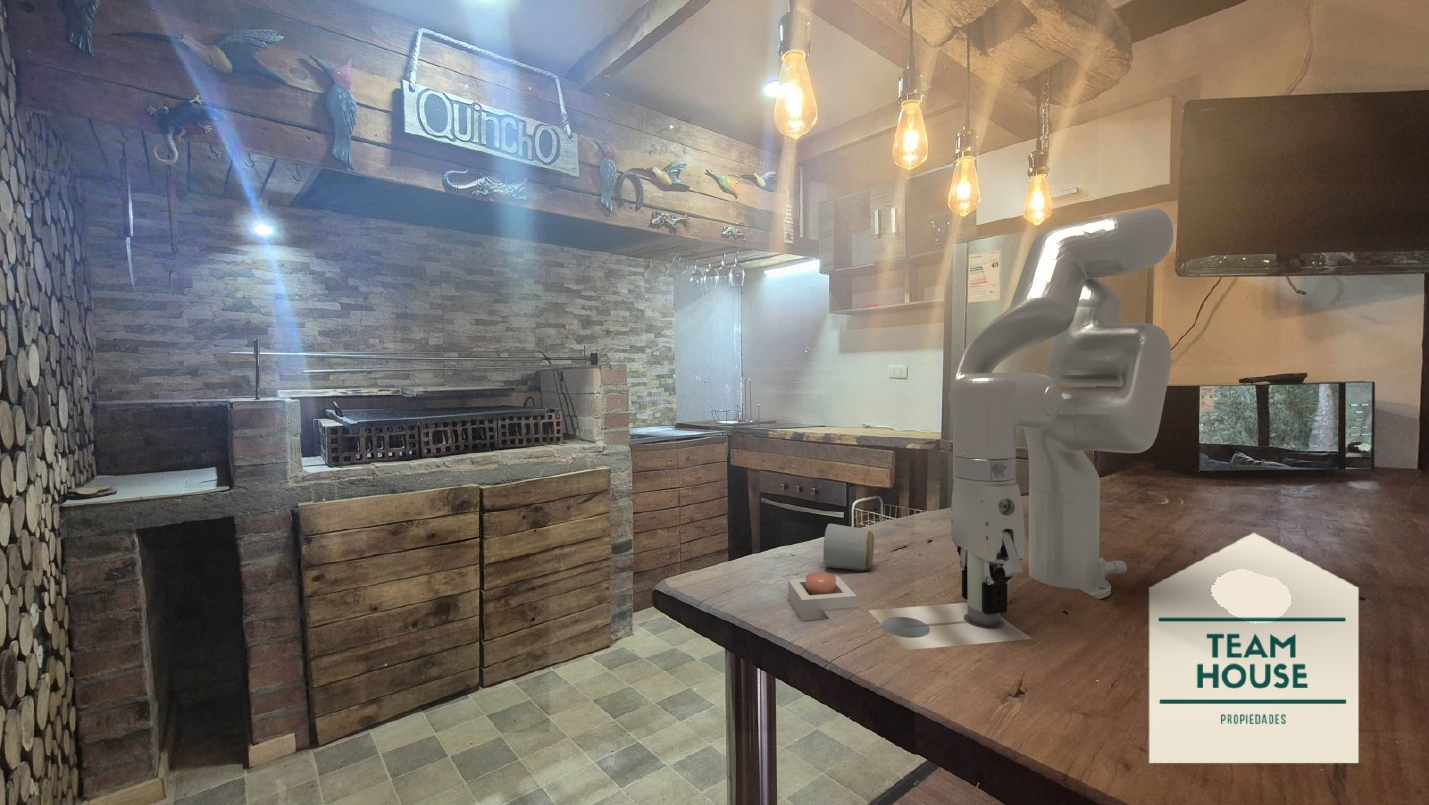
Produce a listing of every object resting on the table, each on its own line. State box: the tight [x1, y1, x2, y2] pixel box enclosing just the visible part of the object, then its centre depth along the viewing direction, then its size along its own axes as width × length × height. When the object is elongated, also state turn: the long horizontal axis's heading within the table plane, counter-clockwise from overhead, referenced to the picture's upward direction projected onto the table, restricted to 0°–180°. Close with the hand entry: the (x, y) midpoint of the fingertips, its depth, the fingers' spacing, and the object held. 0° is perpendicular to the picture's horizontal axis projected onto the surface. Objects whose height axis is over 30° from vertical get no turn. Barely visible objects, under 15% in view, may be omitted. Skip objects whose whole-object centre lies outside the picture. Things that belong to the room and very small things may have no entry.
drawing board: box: [868, 602, 1033, 651], centre depth 75 cm, size 18×13×1 cm
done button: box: [805, 571, 836, 595], centre depth 84 cm, size 4×4×2 cm
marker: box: [967, 550, 1002, 627], centre depth 76 cm, size 4×4×11 cm
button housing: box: [787, 575, 858, 622], centre depth 85 cm, size 8×8×3 cm
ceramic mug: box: [822, 523, 875, 572], centre depth 102 cm, size 11×8×8 cm
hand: (983, 603), depth 76 cm, fingers closed on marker, 3 cm apart
